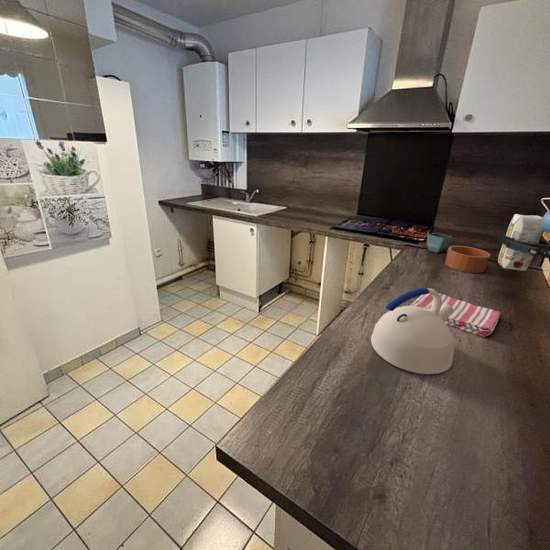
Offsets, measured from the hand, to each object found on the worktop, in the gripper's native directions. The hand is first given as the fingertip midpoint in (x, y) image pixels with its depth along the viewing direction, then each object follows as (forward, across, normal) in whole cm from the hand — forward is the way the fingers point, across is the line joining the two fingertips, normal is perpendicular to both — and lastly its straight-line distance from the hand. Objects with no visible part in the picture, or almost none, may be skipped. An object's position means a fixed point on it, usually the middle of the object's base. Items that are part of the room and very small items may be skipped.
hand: (510, 237), depth 108 cm
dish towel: (-19, -31, -21) cm, 42 cm away
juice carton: (-4, 0, -10) cm, 11 cm away
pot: (+23, +5, -21) cm, 32 cm away
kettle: (-36, -55, -20) cm, 69 cm away
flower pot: (+45, +4, -21) cm, 50 cm away
